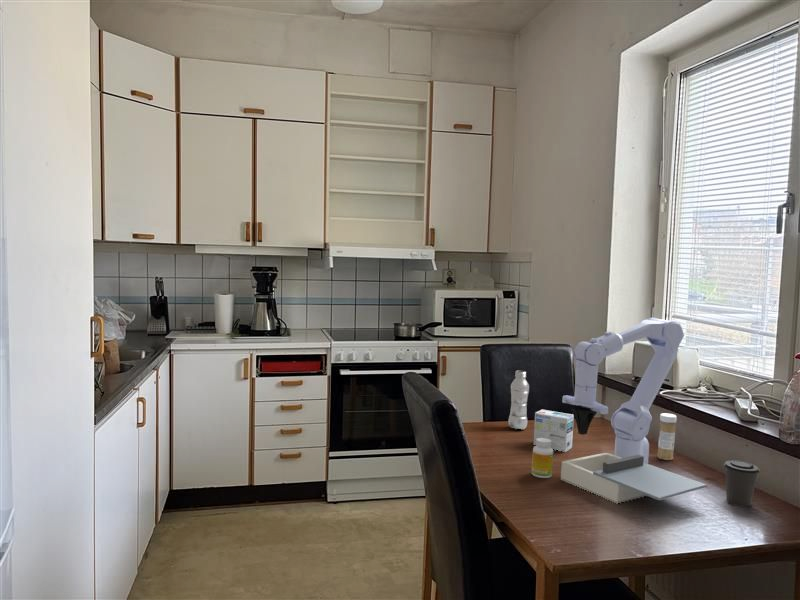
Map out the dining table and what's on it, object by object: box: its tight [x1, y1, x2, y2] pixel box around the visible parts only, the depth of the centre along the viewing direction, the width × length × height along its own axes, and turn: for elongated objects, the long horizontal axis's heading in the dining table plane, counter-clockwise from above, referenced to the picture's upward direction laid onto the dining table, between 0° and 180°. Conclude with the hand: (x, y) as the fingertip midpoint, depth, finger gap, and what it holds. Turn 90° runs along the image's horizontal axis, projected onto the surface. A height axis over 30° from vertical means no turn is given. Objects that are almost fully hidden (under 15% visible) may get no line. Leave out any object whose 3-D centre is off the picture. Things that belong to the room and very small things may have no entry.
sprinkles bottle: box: [657, 412, 678, 461], centre depth 186 cm, size 5×5×14 cm
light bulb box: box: [532, 408, 575, 453], centre depth 193 cm, size 11×7×11 cm, turn 58°
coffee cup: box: [723, 459, 761, 507], centre depth 154 cm, size 8×8×10 cm
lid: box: [593, 455, 708, 501], centre depth 151 cm, size 19×19×3 cm
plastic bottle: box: [508, 370, 530, 430], centre depth 211 cm, size 6×7×20 cm
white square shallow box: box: [560, 452, 648, 505], centre depth 161 cm, size 18×18×5 cm
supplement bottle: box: [531, 438, 554, 479], centre depth 167 cm, size 5×5×10 cm
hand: (582, 433), depth 171 cm, fingers closed
